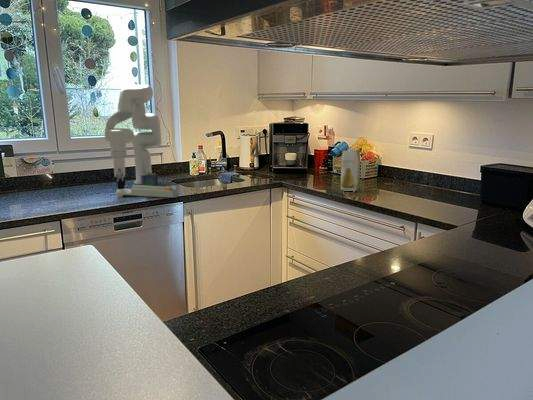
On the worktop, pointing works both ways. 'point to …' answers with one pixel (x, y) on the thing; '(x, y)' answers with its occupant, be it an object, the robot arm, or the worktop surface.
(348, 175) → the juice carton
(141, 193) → the lane
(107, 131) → the robot arm
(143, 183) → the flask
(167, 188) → the ball
